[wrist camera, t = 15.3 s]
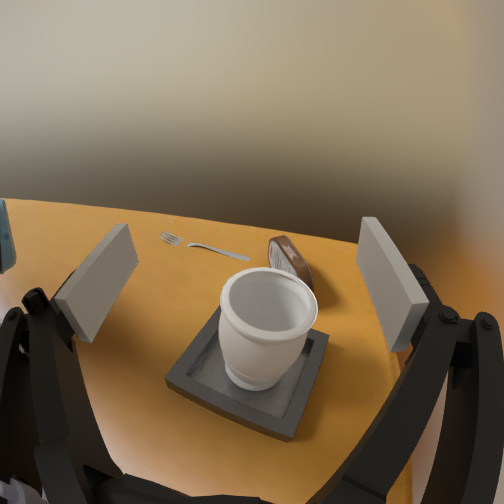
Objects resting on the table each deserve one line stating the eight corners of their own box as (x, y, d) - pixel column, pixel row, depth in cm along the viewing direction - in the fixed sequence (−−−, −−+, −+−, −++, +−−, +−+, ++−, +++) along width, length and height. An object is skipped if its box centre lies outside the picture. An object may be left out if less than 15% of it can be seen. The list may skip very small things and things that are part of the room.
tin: (308, 310, 48) (321, 276, 43) (293, 313, 47) (304, 279, 42) (276, 259, 59) (282, 226, 54) (263, 261, 58) (268, 228, 53)
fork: (260, 268, 57) (261, 261, 56) (158, 242, 60) (157, 236, 59) (263, 259, 59) (265, 253, 58) (164, 235, 63) (164, 229, 62)
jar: (302, 372, 37) (337, 306, 28) (249, 412, 31) (267, 358, 22) (257, 328, 43) (271, 255, 34) (203, 358, 37) (200, 287, 28)
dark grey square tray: (167, 387, 33) (164, 378, 31) (226, 307, 47) (227, 295, 45) (287, 442, 28) (292, 437, 27) (323, 345, 42) (329, 335, 40)
